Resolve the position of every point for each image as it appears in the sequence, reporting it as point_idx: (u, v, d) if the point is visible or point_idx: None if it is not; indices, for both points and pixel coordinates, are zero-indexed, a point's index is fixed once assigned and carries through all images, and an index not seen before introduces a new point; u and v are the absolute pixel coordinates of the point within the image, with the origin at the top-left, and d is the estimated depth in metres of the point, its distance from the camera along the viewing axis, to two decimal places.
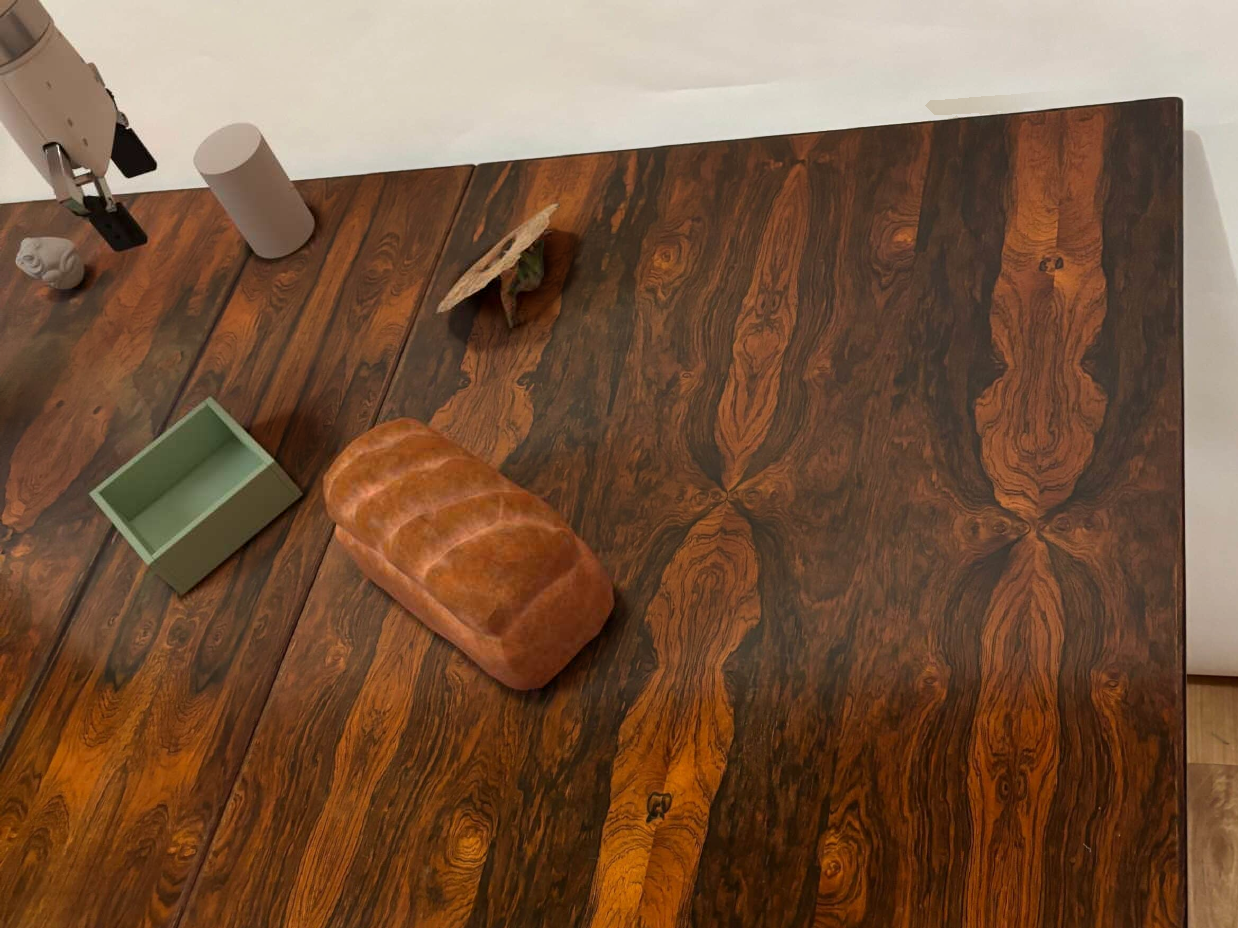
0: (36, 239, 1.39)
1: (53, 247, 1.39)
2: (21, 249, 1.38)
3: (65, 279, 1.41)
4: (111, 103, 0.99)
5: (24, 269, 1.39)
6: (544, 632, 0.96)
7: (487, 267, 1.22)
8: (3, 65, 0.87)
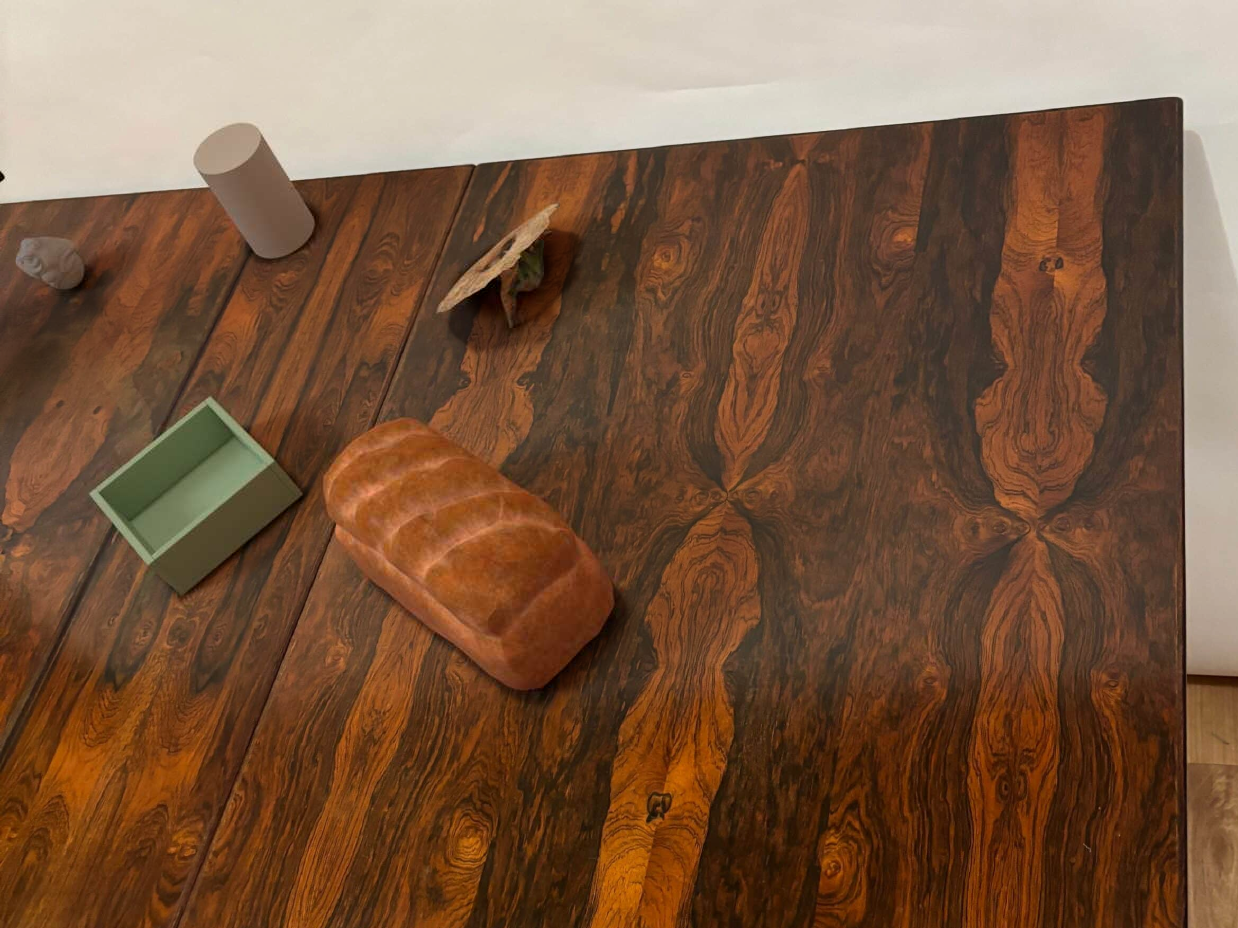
0: (36, 239, 1.39)
1: (53, 247, 1.39)
2: (21, 249, 1.38)
3: (65, 279, 1.41)
4: None
5: (24, 269, 1.39)
6: (544, 632, 0.96)
7: (487, 267, 1.22)
8: None
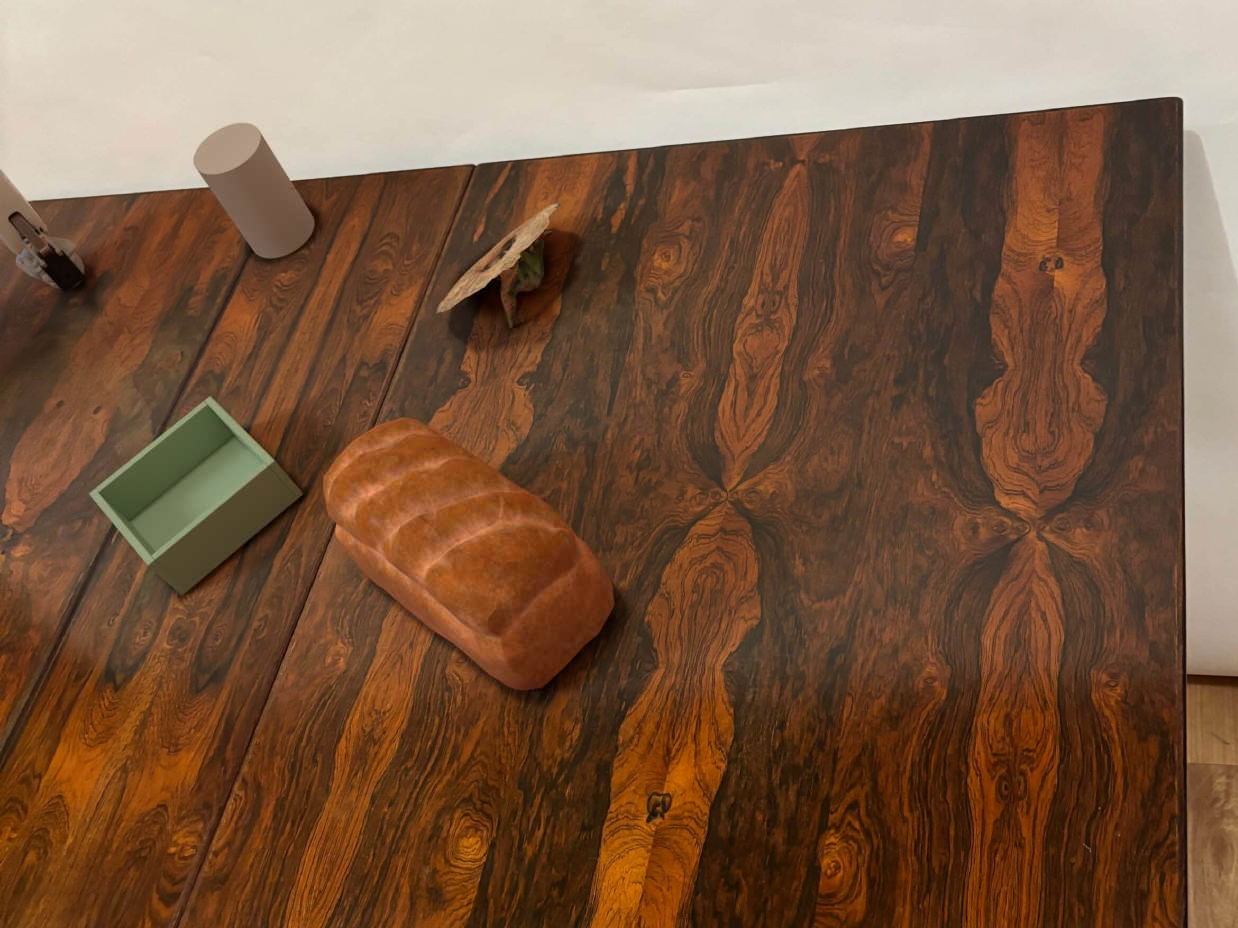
0: None
1: None
2: None
3: None
4: None
5: (24, 269, 1.39)
6: (544, 632, 0.96)
7: (487, 267, 1.22)
8: None
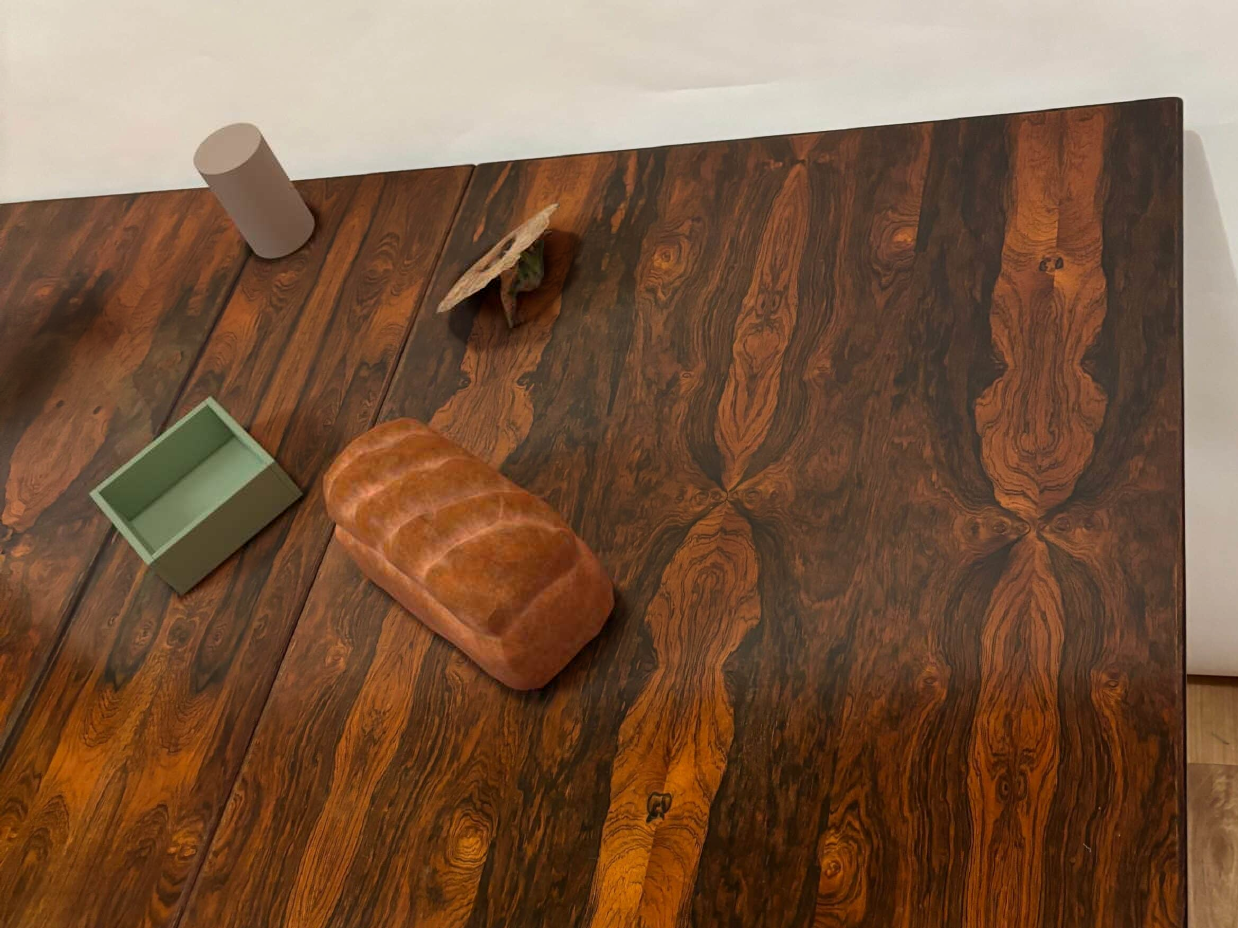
0: None
1: None
2: None
3: None
4: None
5: None
6: (544, 632, 0.96)
7: (487, 267, 1.22)
8: None
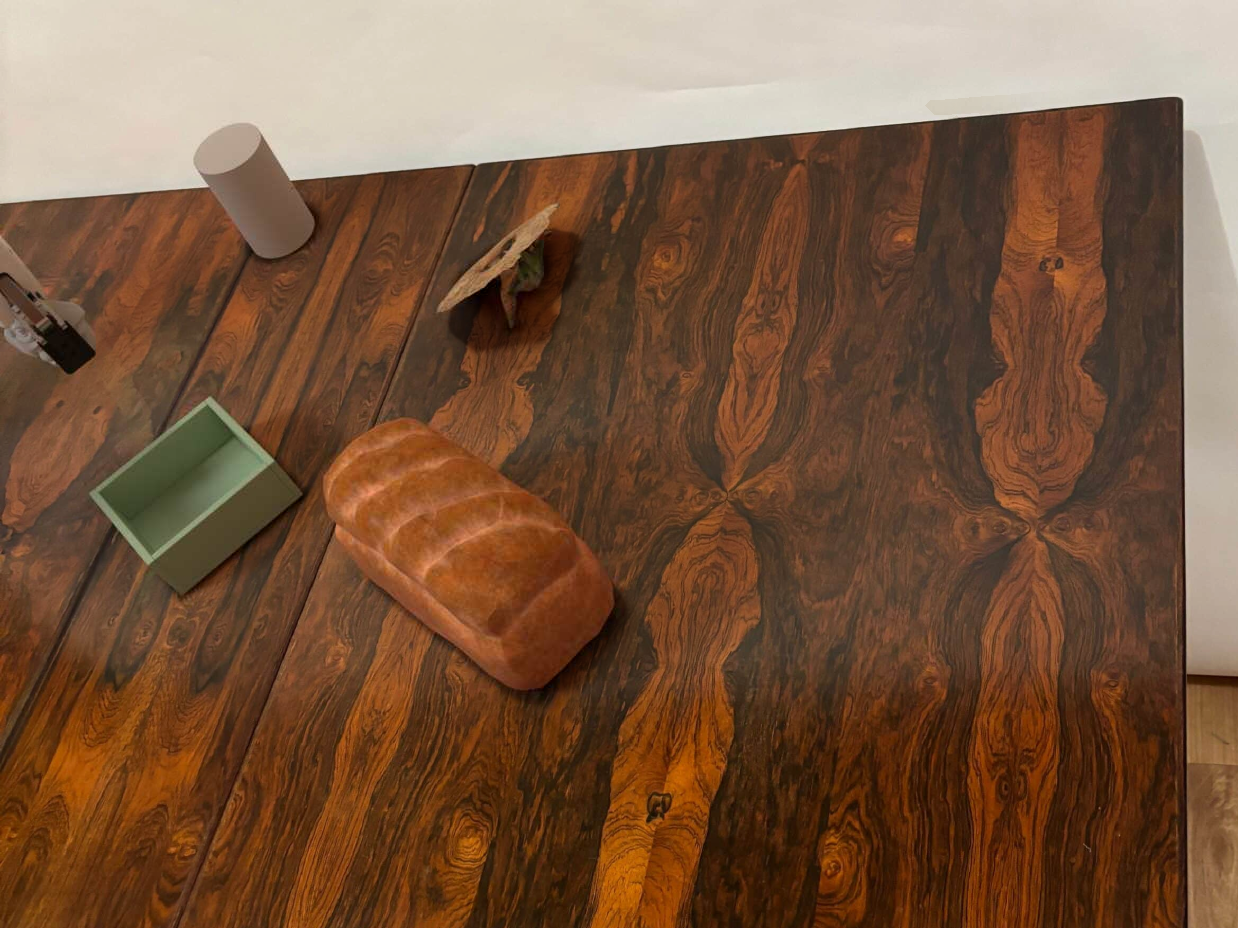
0: None
1: None
2: None
3: None
4: None
5: (16, 344, 1.04)
6: (544, 632, 0.96)
7: (487, 267, 1.22)
8: None
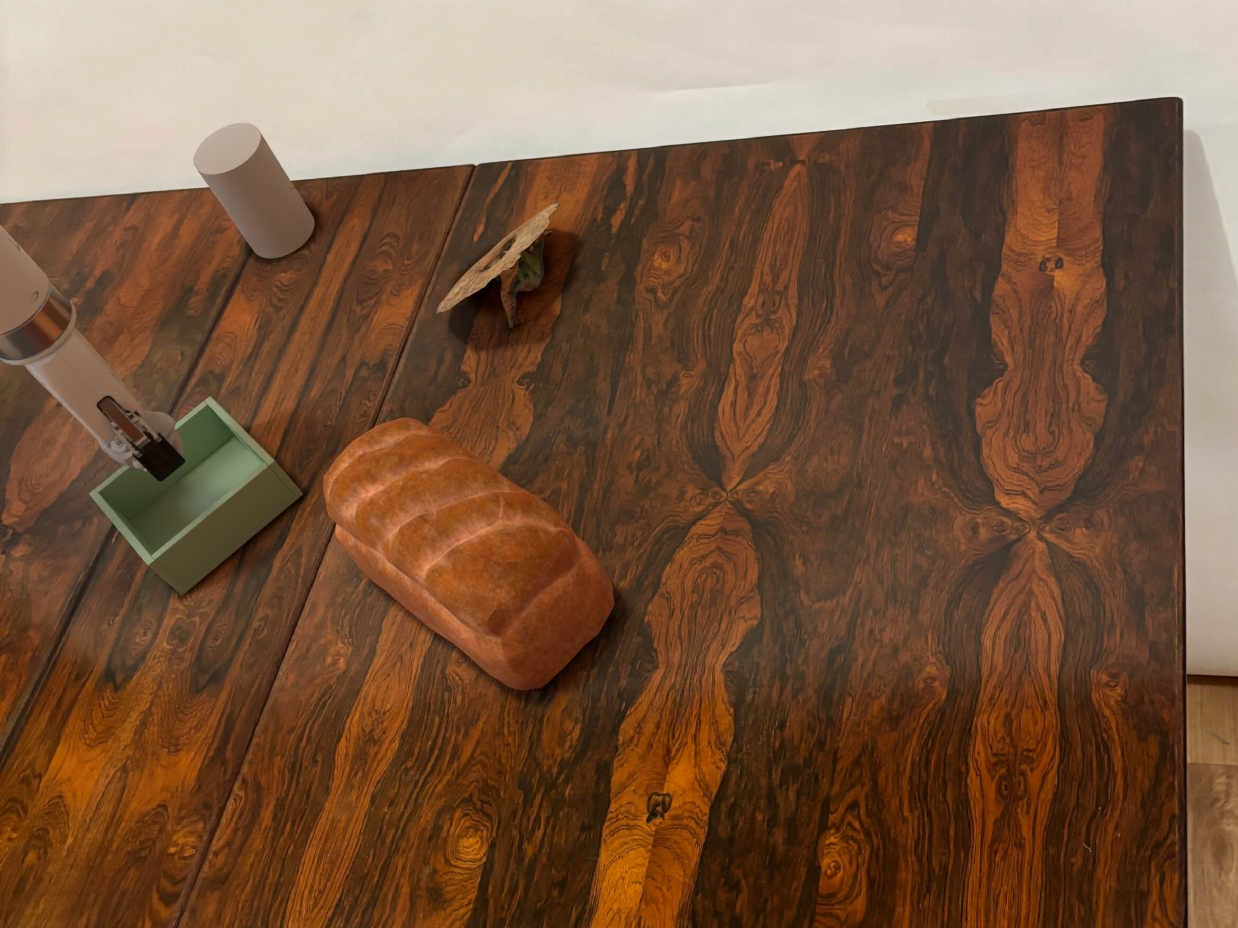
0: None
1: None
2: None
3: None
4: None
5: (111, 454, 1.09)
6: (544, 632, 0.96)
7: (487, 267, 1.22)
8: (53, 342, 0.96)
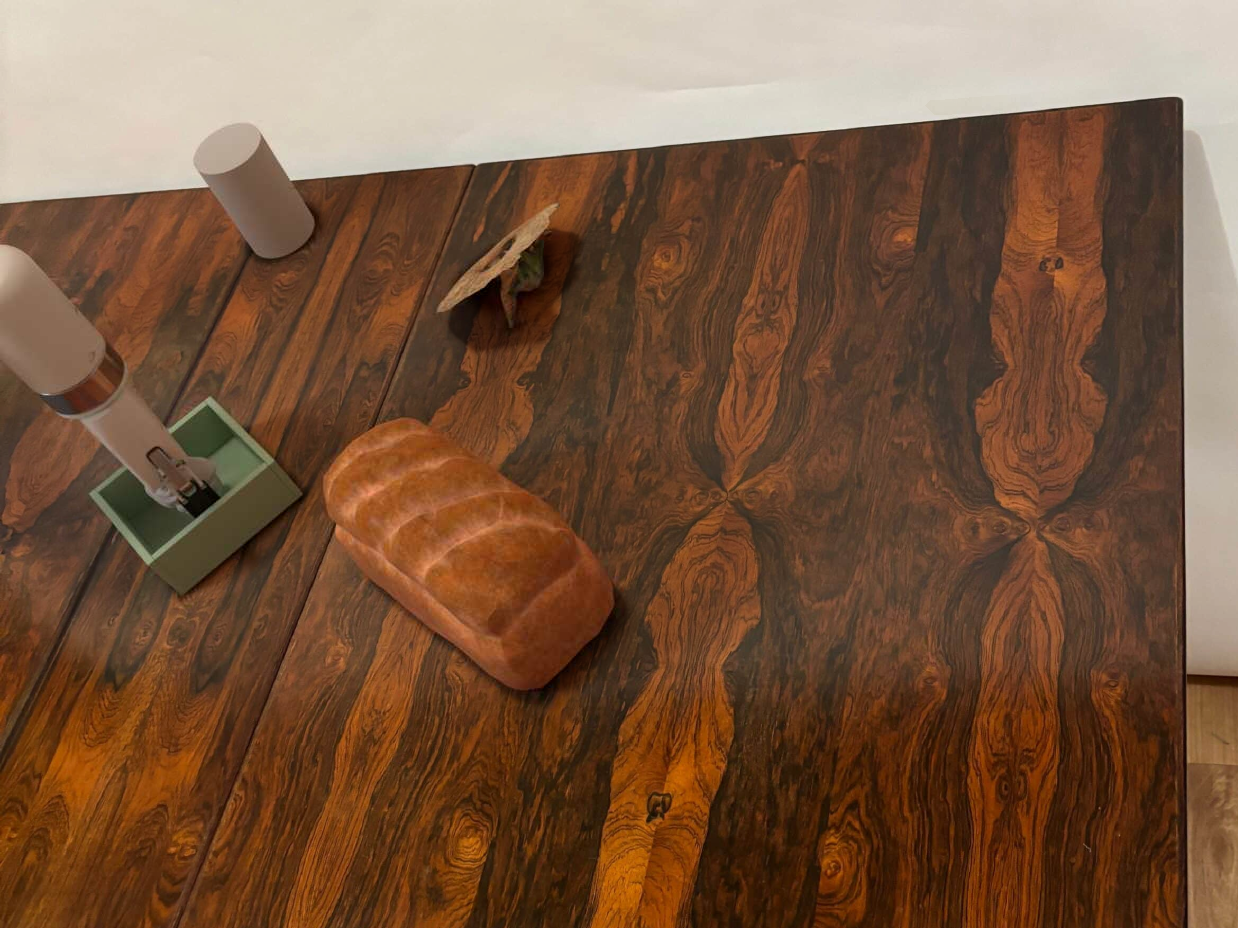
0: None
1: None
2: None
3: None
4: None
5: (156, 498, 1.15)
6: (544, 632, 0.96)
7: (487, 267, 1.22)
8: (108, 398, 1.02)
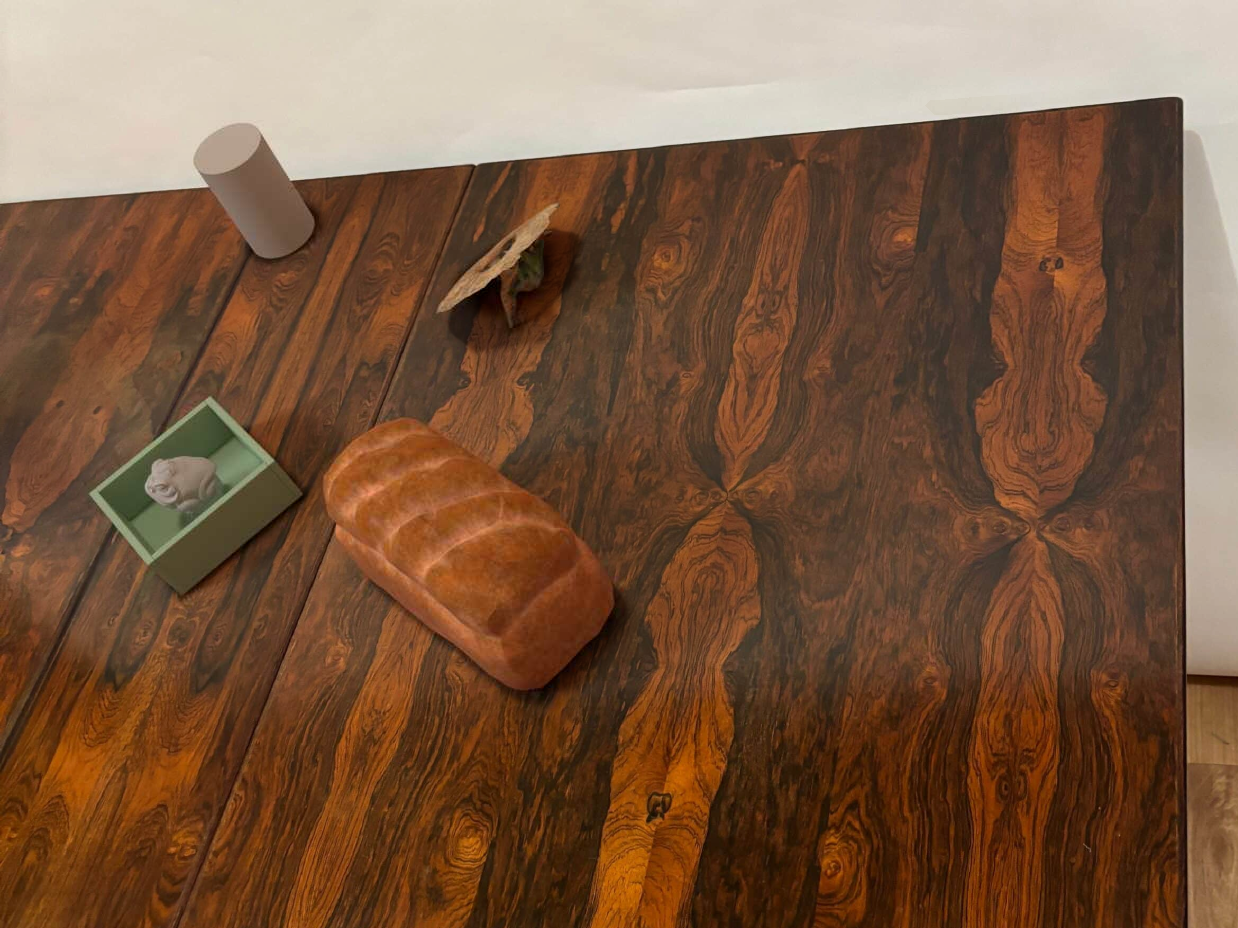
0: (171, 463, 1.15)
1: (191, 471, 1.15)
2: (153, 475, 1.14)
3: (203, 507, 1.17)
4: None
5: (156, 498, 1.15)
6: (544, 632, 0.96)
7: (487, 267, 1.22)
8: None
